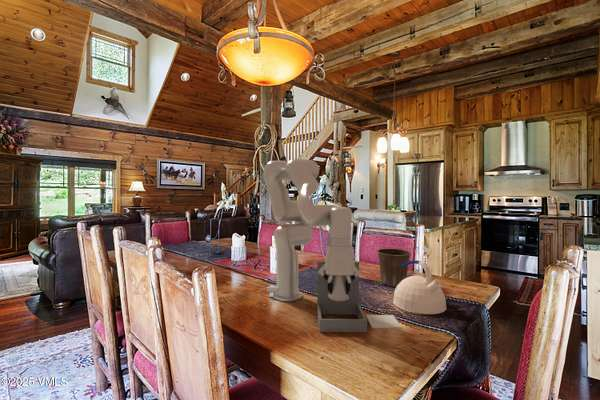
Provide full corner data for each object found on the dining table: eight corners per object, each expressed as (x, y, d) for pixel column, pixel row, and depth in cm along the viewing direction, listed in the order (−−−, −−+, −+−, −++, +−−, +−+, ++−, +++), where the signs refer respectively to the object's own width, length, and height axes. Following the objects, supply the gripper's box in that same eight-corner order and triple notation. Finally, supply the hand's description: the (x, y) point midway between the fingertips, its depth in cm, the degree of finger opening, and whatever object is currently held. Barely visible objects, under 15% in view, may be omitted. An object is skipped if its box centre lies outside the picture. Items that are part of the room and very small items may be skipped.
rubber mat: (371, 328, 104) (371, 326, 104) (365, 316, 114) (365, 315, 114) (401, 328, 104) (401, 327, 104) (393, 316, 114) (393, 315, 114)
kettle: (418, 318, 113) (418, 269, 112) (382, 300, 132) (383, 257, 131) (459, 310, 120) (459, 264, 120) (420, 294, 140) (420, 254, 139)
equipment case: (319, 331, 102) (319, 272, 101) (317, 312, 118) (317, 261, 118) (367, 332, 102) (367, 272, 101) (358, 312, 118) (358, 261, 117)
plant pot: (415, 288, 147) (415, 254, 146) (381, 288, 147) (381, 254, 147) (404, 279, 163) (404, 248, 163) (373, 278, 163) (373, 248, 163)
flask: (335, 303, 105) (336, 274, 105) (324, 296, 112) (325, 268, 111) (353, 300, 109) (353, 271, 108) (340, 293, 115) (341, 266, 114)
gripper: (316, 243, 105) (314, 296, 106) (366, 244, 105) (364, 297, 106) (315, 239, 113) (314, 288, 114) (362, 240, 113) (360, 289, 114)
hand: (338, 292), depth 110 cm, fingers closed on flask, 5 cm apart
